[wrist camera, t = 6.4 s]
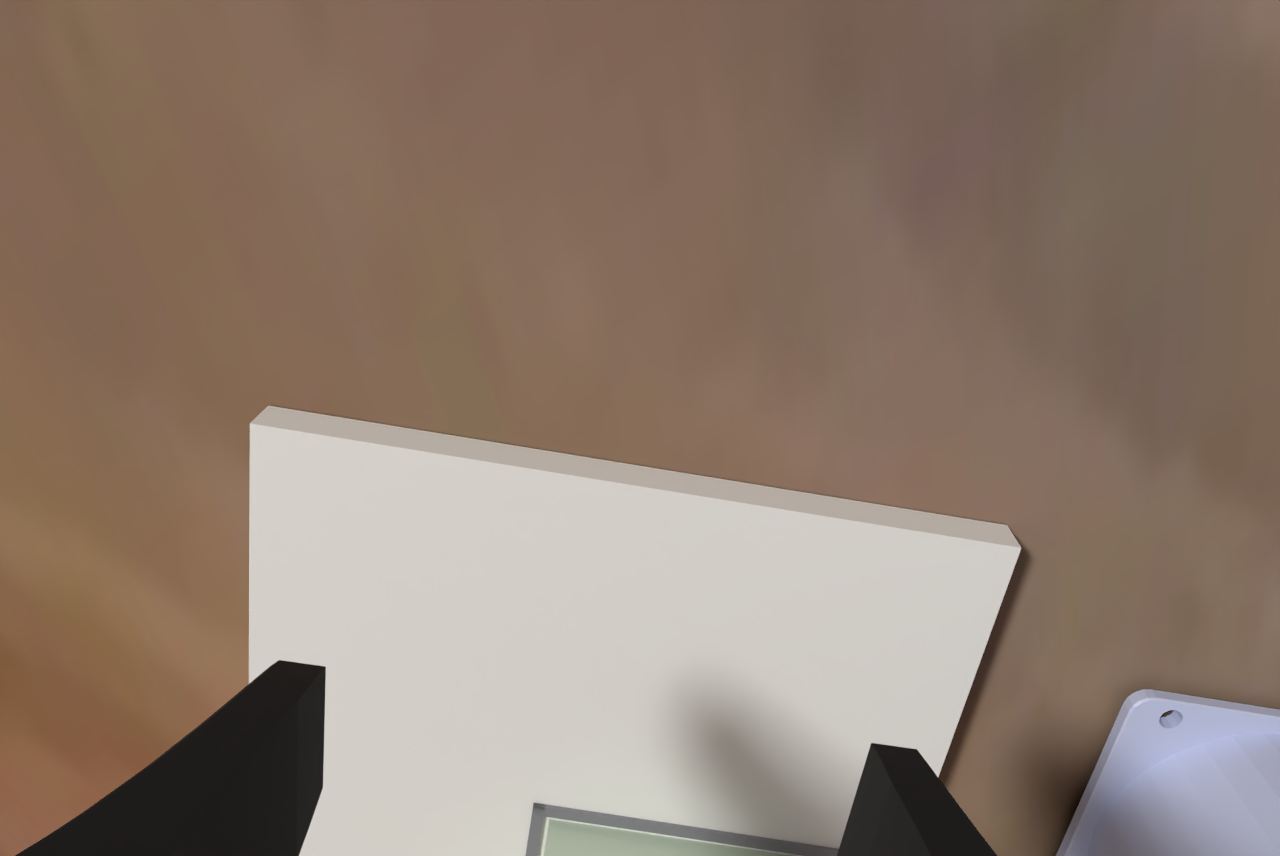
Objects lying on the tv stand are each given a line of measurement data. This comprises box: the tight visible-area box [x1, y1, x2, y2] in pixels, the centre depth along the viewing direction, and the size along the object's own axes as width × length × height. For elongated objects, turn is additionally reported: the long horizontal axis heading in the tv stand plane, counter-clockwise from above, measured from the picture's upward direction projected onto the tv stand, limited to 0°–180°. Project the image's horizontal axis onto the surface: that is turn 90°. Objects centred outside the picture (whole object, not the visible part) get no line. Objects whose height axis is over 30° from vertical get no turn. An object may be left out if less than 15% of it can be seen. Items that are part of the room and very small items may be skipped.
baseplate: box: [249, 406, 1021, 856], centre depth 25 cm, size 16×17×1 cm
